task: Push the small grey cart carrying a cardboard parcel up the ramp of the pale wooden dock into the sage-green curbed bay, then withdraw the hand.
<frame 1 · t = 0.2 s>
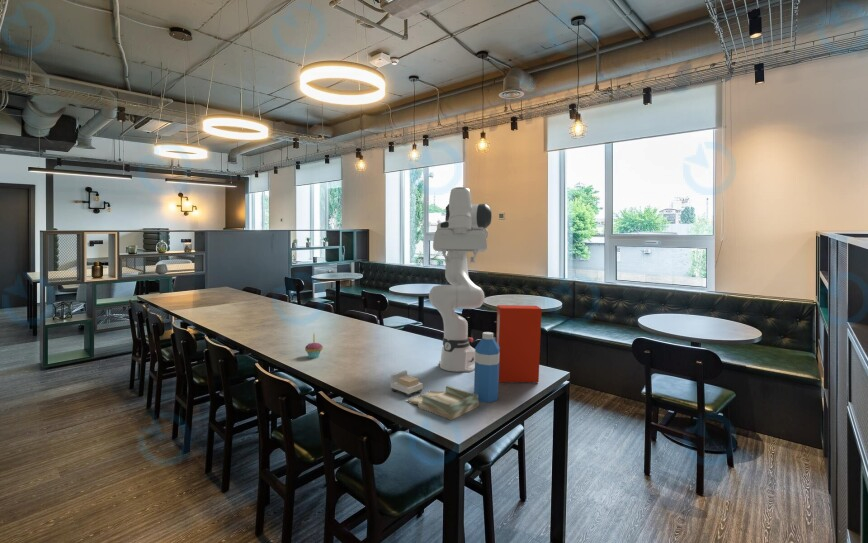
hand: (459, 262, 153), 52 cm above the table, tool tilted 20°, fingers open, 8 cm apart
cart: (406, 391, 162), on the table
dock: (441, 404, 150), on the table
cupcake: (314, 357, 207), on the table
water bottle: (486, 398, 158), on the table
red box: (516, 380, 179), on the table
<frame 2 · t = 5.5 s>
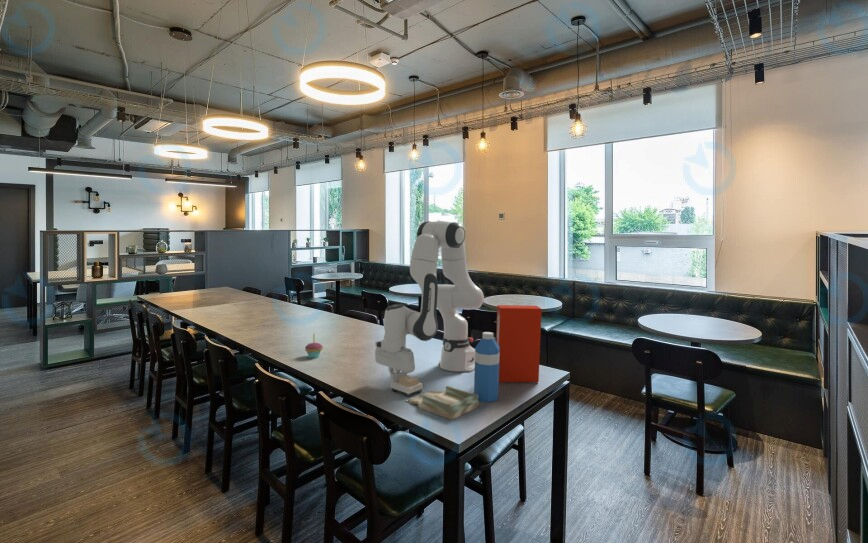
hand: (394, 378, 167), 4 cm above the table, tool pointing down, fingers closed
cart: (406, 391, 162), on the table, touching gripper
everything else where it was.
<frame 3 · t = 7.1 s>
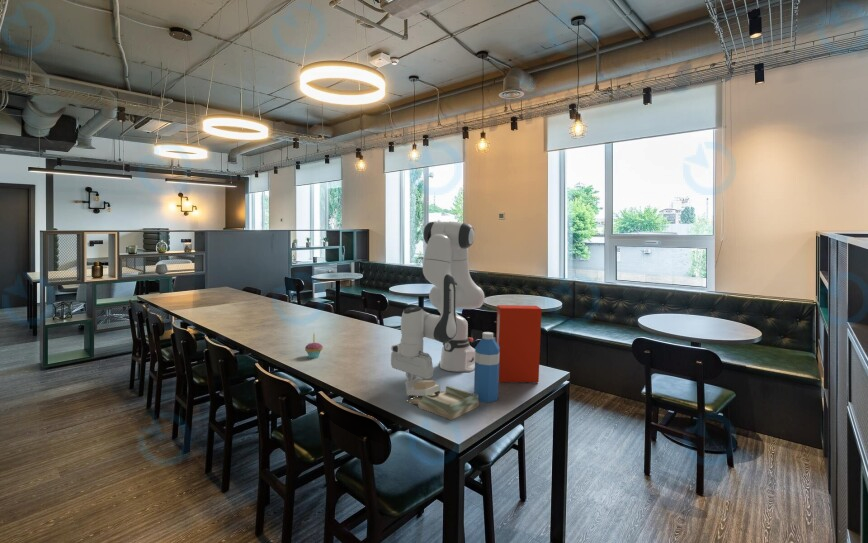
hand: (411, 384, 160), 4 cm above the table, tool pointing down, fingers closed
cart: (424, 396, 155), point 1 cm above the table, tilted 13°, touching dock, gripper
everything else where it was.
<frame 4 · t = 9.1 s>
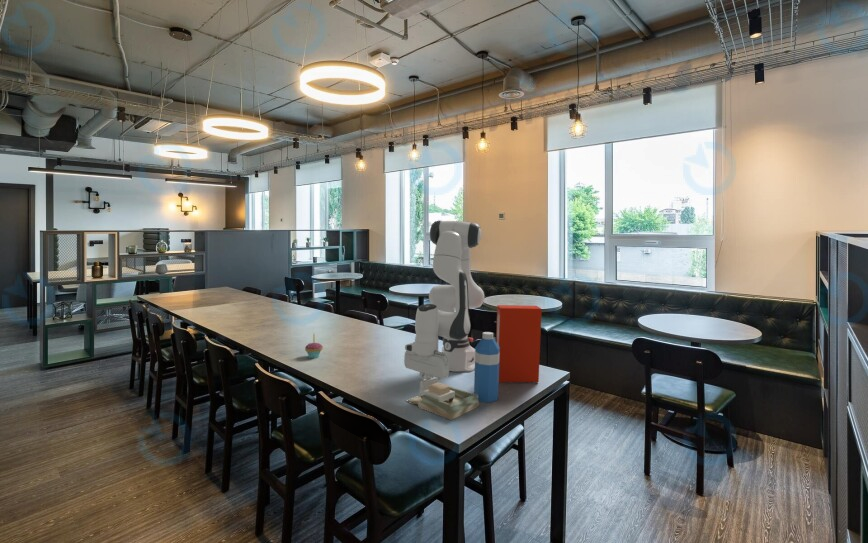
hand: (425, 384, 154), 6 cm above the table, tool pointing down, fingers closed
cart: (437, 400, 150), point 2 cm above the table, touching dock, gripper
everything else where it was.
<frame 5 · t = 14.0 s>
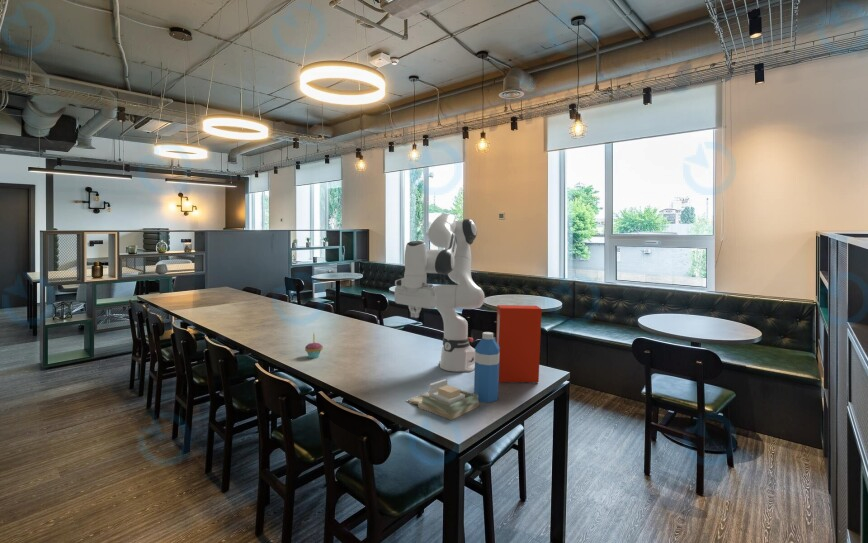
hand: (414, 317, 163), 29 cm above the table, tool pointing down, fingers closed
cart: (446, 403, 147), point 2 cm above the table, touching dock
everything else where it was.
at the end: cart 1.4 cm from the target spot on the dock, point 1.9 cm above the dock's base; cart tilted 0° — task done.
